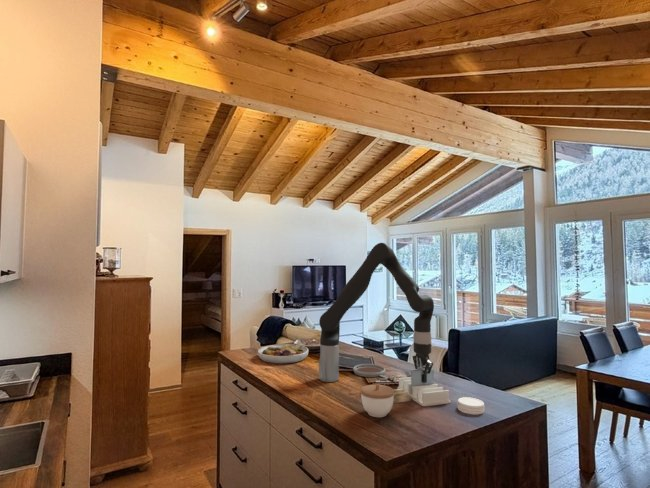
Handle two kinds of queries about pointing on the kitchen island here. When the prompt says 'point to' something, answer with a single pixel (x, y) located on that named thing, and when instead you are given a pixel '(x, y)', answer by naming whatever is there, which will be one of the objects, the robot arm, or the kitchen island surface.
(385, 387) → the lidded bowl
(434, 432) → the kitchen island surface
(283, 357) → the bowl
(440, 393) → the dish rack
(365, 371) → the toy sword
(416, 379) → the grey board
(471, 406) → the coaster
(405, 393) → the plate stand
